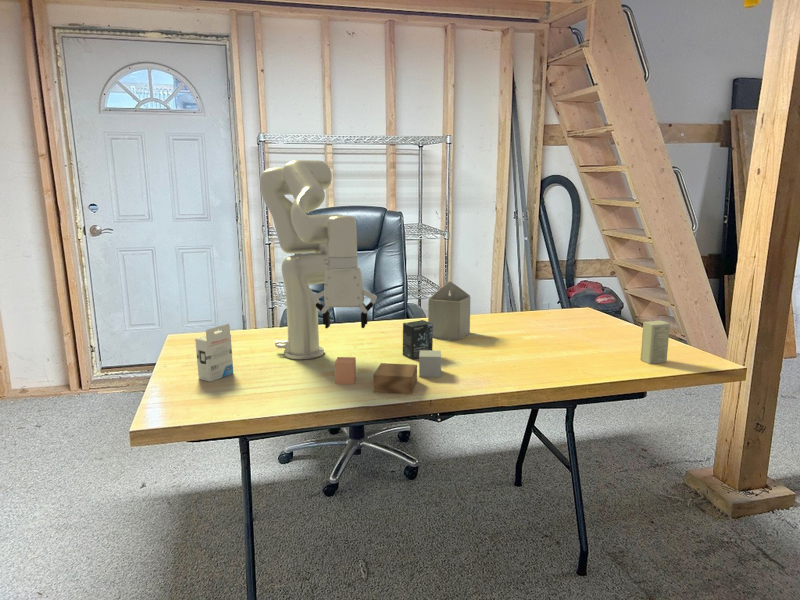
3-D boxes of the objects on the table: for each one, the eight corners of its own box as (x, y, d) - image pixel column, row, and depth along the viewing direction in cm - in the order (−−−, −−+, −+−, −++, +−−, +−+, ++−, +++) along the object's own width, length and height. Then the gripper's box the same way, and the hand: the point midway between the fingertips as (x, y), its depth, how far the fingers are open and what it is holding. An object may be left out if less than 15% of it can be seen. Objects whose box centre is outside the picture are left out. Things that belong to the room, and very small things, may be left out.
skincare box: (657, 358, 172) (660, 319, 170) (667, 362, 168) (671, 323, 166) (639, 360, 171) (642, 321, 168) (649, 364, 167) (652, 324, 164)
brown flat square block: (373, 393, 145) (373, 375, 144) (381, 380, 155) (380, 363, 154) (412, 395, 144) (411, 376, 143) (417, 382, 154) (417, 364, 153)
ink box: (222, 370, 163) (218, 321, 160) (234, 373, 161) (230, 323, 158) (197, 379, 156) (193, 327, 153) (209, 382, 153) (205, 329, 150)
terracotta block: (335, 384, 152) (334, 362, 151) (338, 377, 157) (337, 357, 156) (353, 384, 152) (353, 362, 150) (356, 377, 156) (355, 357, 155)
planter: (437, 342, 191) (437, 286, 187) (427, 336, 198) (427, 282, 194) (479, 337, 197) (480, 283, 193) (469, 332, 204) (470, 279, 200)
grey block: (419, 377, 157) (419, 356, 156) (419, 370, 163) (419, 350, 162) (440, 377, 157) (441, 356, 155) (440, 370, 162) (440, 350, 161)
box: (412, 360, 172) (412, 326, 170) (402, 355, 177) (402, 322, 175) (433, 355, 176) (433, 322, 174) (422, 351, 181) (422, 319, 179)
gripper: (307, 265, 144) (310, 330, 147) (374, 264, 143) (376, 330, 146) (313, 262, 152) (316, 324, 155) (377, 261, 151) (379, 323, 154)
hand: (345, 327), depth 151 cm, fingers open, 9 cm apart
